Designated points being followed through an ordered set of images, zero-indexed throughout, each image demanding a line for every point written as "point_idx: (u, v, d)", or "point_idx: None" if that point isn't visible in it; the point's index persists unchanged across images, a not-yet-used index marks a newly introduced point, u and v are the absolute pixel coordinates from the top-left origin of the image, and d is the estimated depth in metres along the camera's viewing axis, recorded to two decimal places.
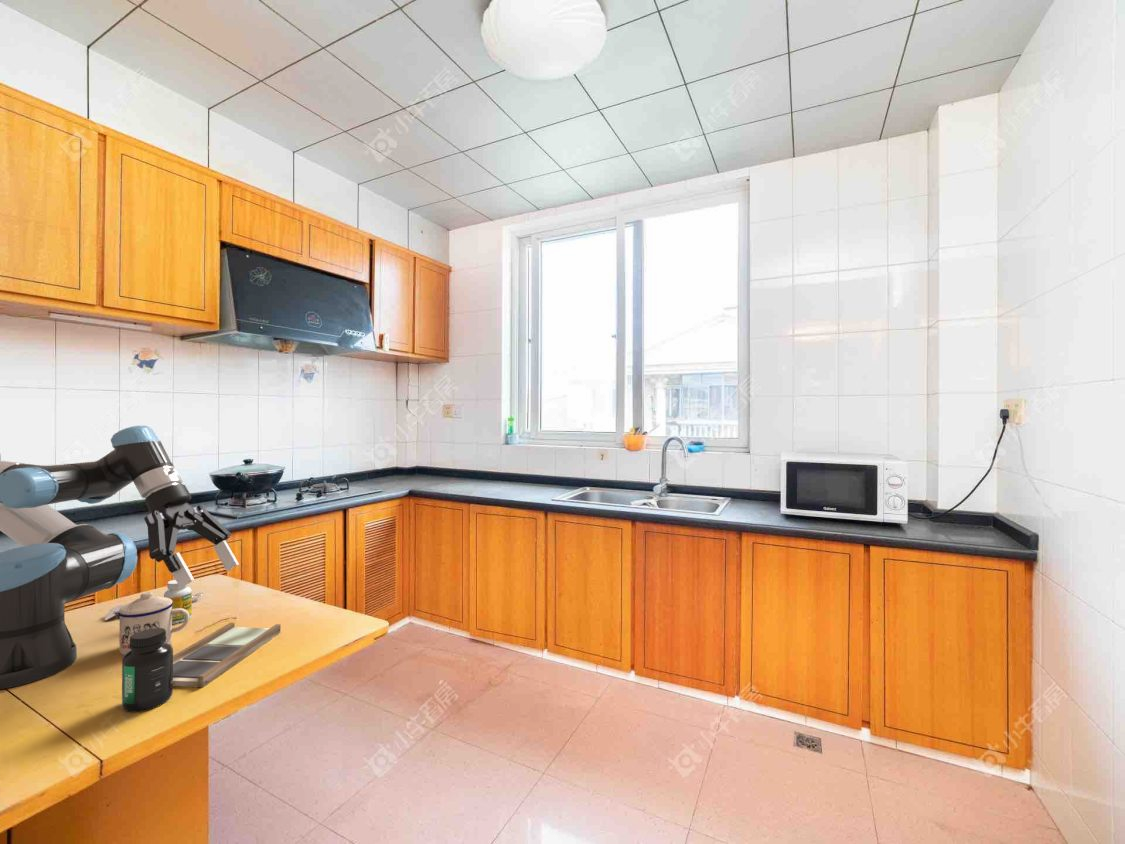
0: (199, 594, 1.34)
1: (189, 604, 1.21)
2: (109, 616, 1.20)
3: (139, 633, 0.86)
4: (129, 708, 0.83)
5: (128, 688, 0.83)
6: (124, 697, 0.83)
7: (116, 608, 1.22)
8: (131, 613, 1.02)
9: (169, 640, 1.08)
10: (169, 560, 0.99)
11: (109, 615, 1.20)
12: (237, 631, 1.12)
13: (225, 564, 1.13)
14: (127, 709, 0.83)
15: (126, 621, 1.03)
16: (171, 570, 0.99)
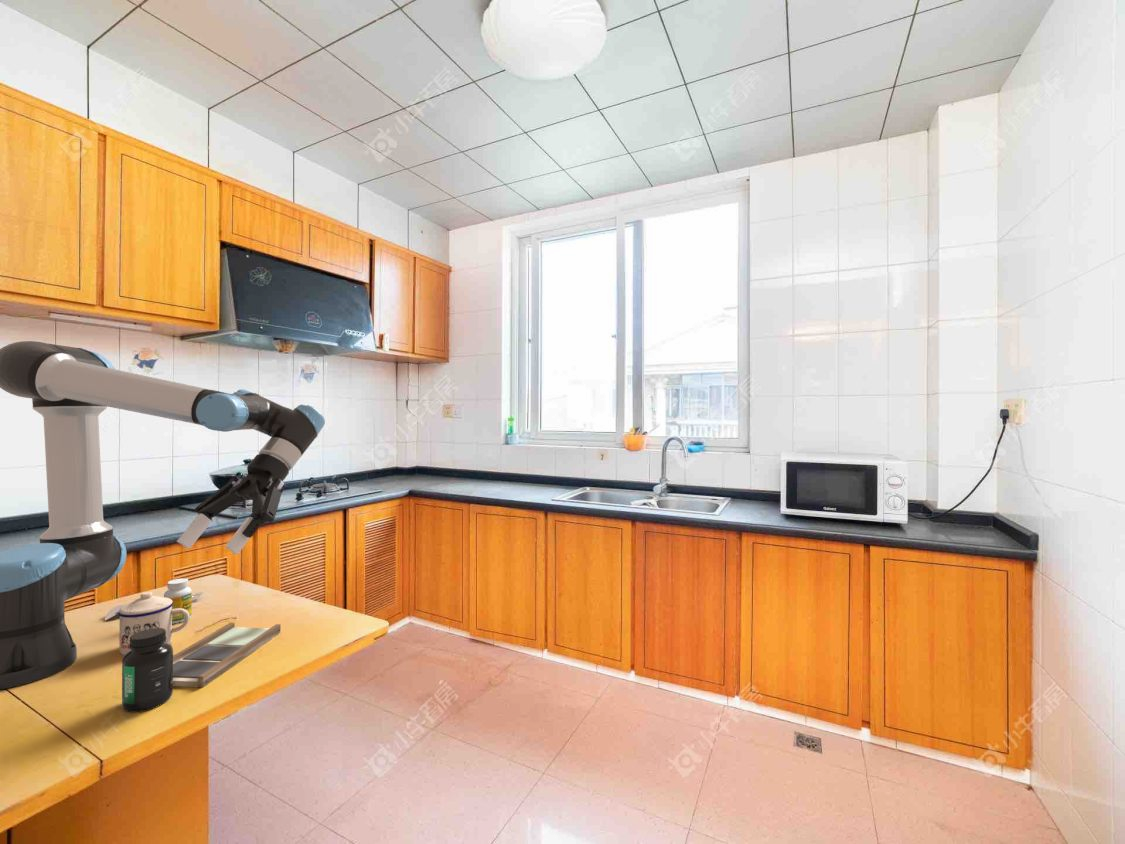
0: (199, 594, 1.34)
1: (189, 604, 1.21)
2: (109, 616, 1.20)
3: (139, 633, 0.86)
4: (129, 708, 0.83)
5: (128, 688, 0.83)
6: (124, 697, 0.83)
7: (116, 608, 1.22)
8: (131, 613, 1.02)
9: (169, 640, 1.08)
10: (257, 526, 0.97)
11: (109, 615, 1.20)
12: (237, 631, 1.12)
13: (186, 536, 0.99)
14: (127, 709, 0.83)
15: (126, 621, 1.03)
16: (248, 533, 0.95)
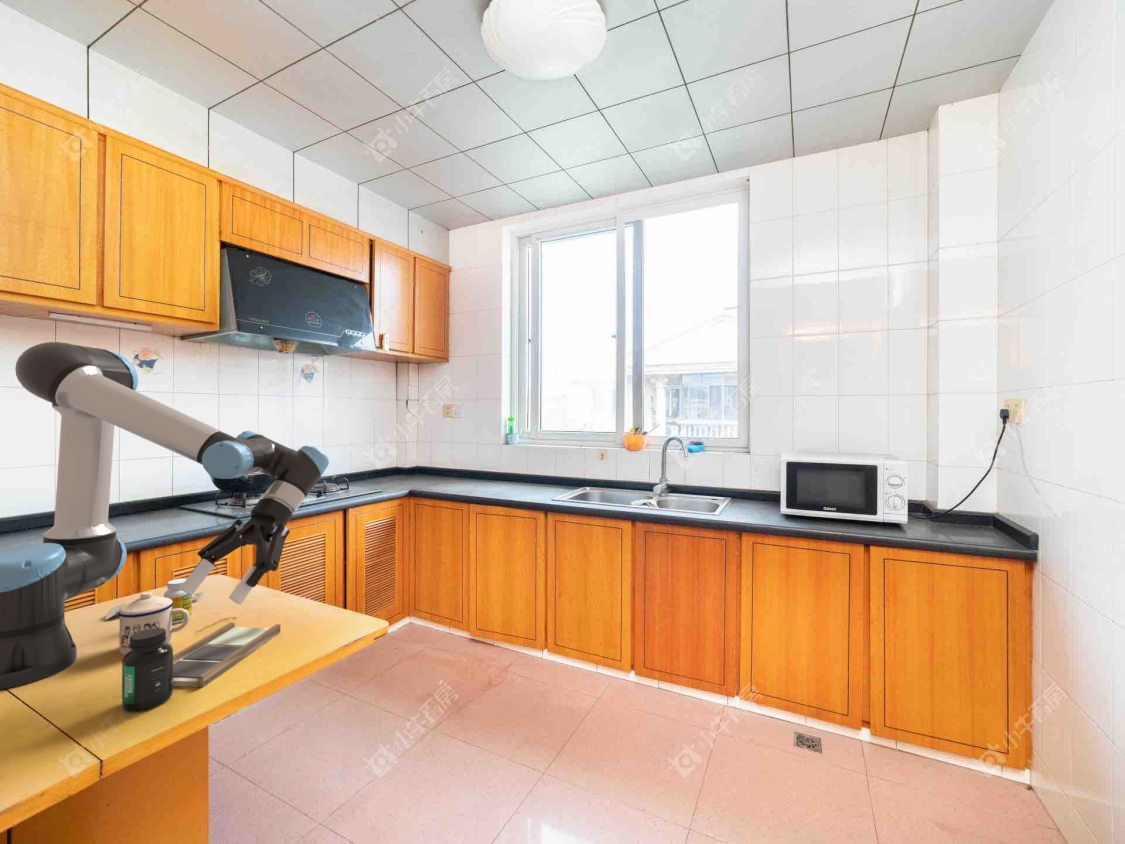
0: (199, 594, 1.34)
1: (189, 604, 1.21)
2: (109, 615, 1.20)
3: (139, 633, 0.86)
4: (129, 708, 0.83)
5: (128, 688, 0.83)
6: (124, 697, 0.83)
7: (116, 607, 1.22)
8: (131, 613, 1.02)
9: (169, 640, 1.08)
10: (261, 575, 0.97)
11: (109, 614, 1.21)
12: (237, 631, 1.12)
13: (189, 582, 0.99)
14: (127, 709, 0.83)
15: (126, 621, 1.03)
16: (252, 583, 0.96)
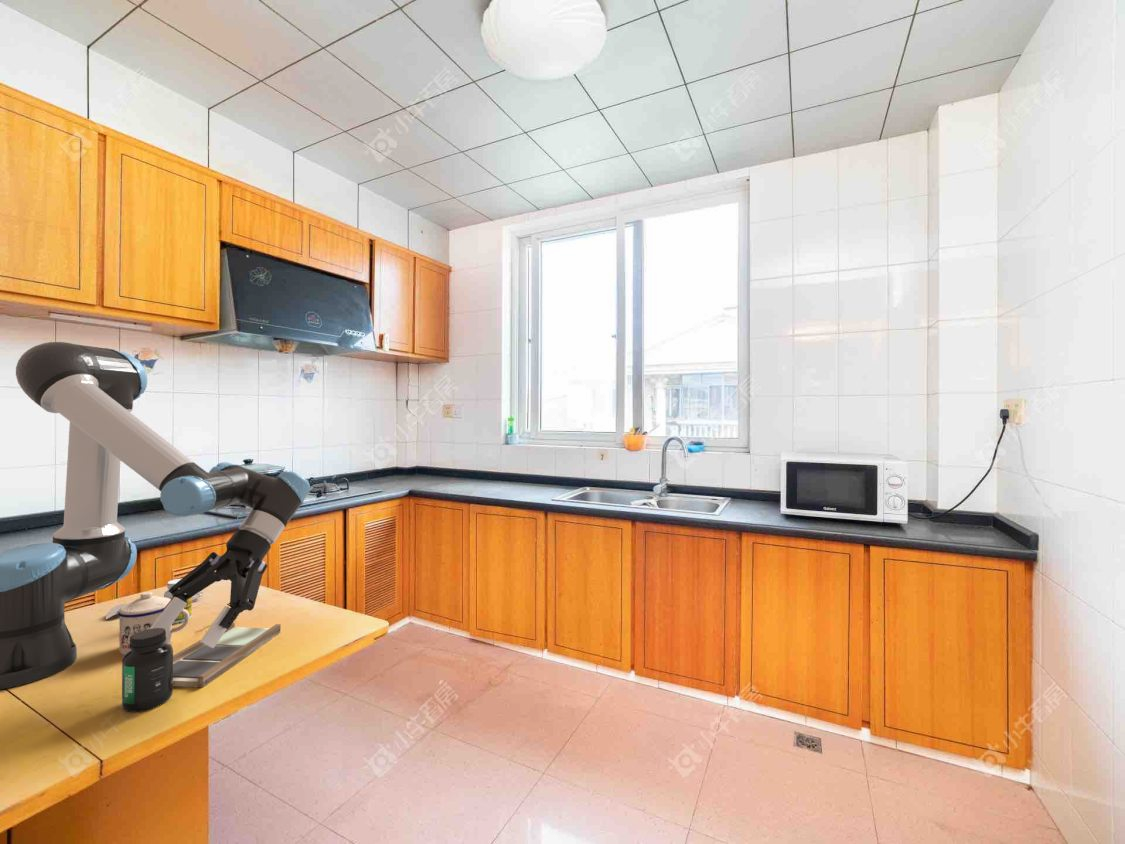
0: (199, 594, 1.34)
1: (189, 604, 1.21)
2: (109, 615, 1.21)
3: (139, 633, 0.86)
4: (129, 708, 0.83)
5: (128, 688, 0.83)
6: (124, 697, 0.83)
7: (116, 607, 1.22)
8: (131, 613, 1.02)
9: (169, 640, 1.08)
10: (235, 616, 0.91)
11: (109, 614, 1.21)
12: (237, 631, 1.12)
13: (159, 623, 0.93)
14: (127, 709, 0.83)
15: (126, 621, 1.03)
16: (225, 624, 0.90)
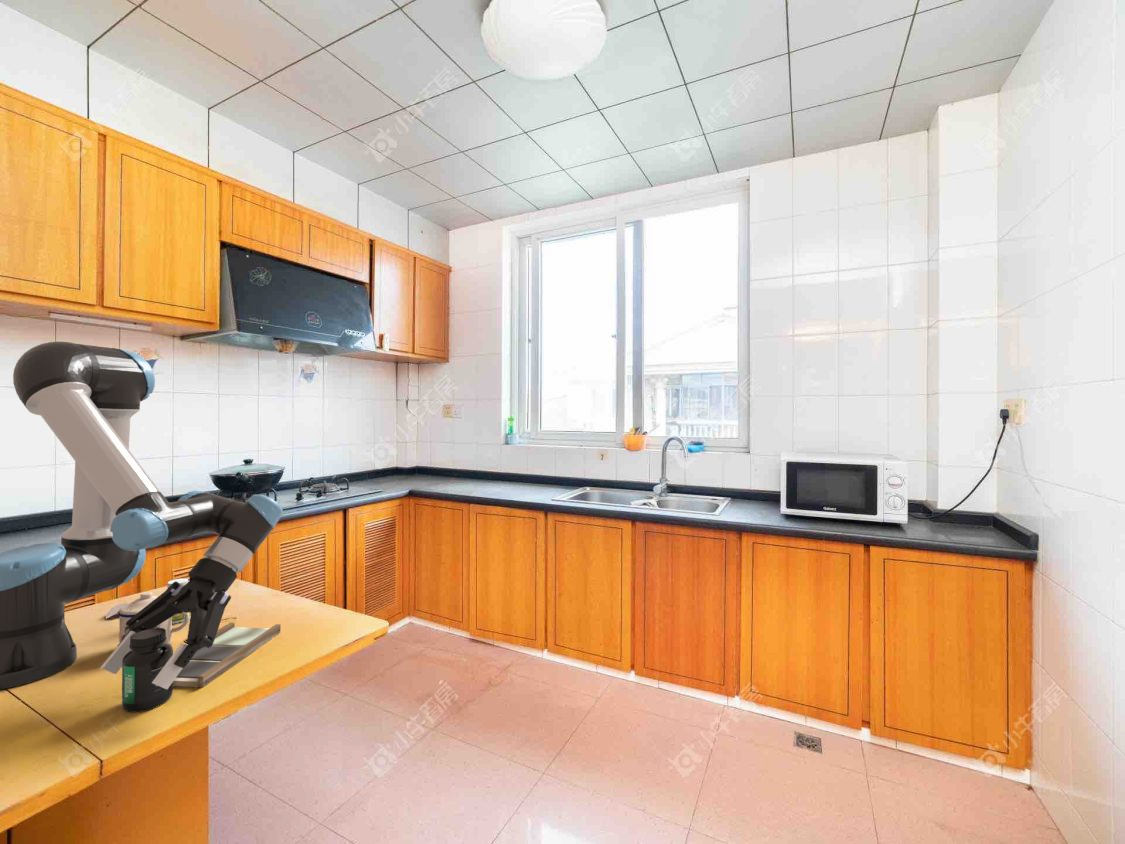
0: None
1: None
2: (109, 615, 1.21)
3: (139, 633, 0.86)
4: (129, 708, 0.83)
5: (128, 688, 0.83)
6: (124, 697, 0.83)
7: (117, 607, 1.22)
8: (131, 613, 1.02)
9: (169, 640, 1.08)
10: (192, 654, 0.86)
11: (109, 614, 1.21)
12: (237, 631, 1.12)
13: (112, 660, 0.87)
14: (127, 709, 0.83)
15: (126, 621, 1.03)
16: (181, 664, 0.84)
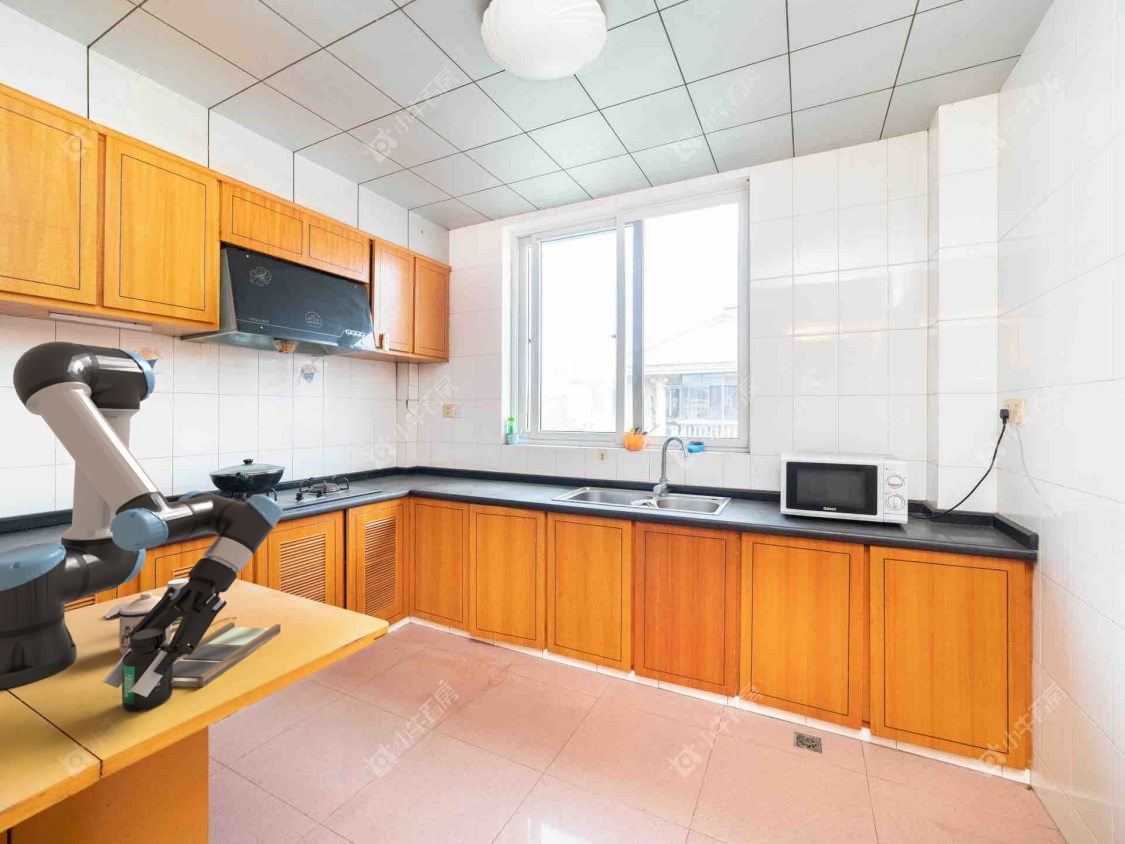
0: None
1: None
2: (110, 615, 1.21)
3: (139, 633, 0.86)
4: (129, 708, 0.83)
5: (128, 688, 0.83)
6: (124, 697, 0.83)
7: (117, 607, 1.22)
8: (131, 613, 1.02)
9: (169, 640, 1.08)
10: (172, 661, 0.85)
11: (110, 614, 1.21)
12: (237, 631, 1.12)
13: (114, 674, 0.85)
14: (127, 709, 0.83)
15: (126, 621, 1.03)
16: (160, 671, 0.84)
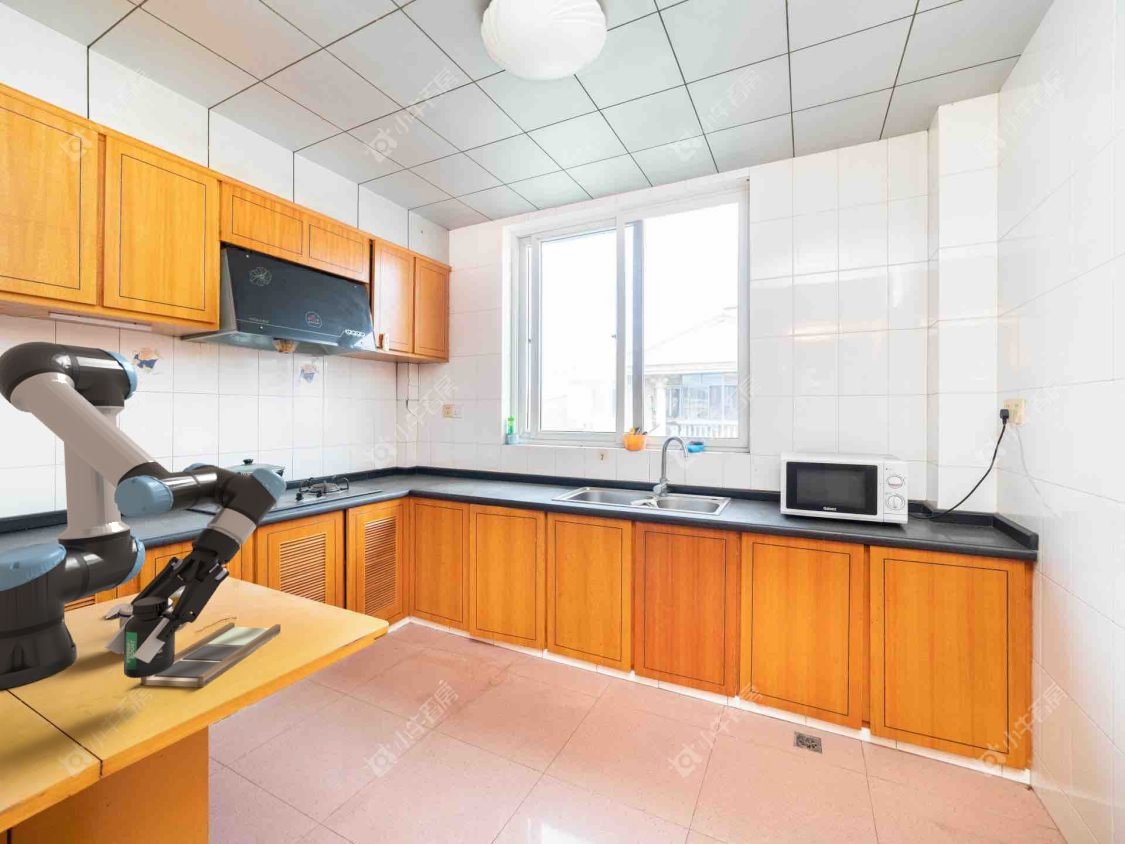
0: None
1: None
2: (110, 614, 1.21)
3: (142, 600, 0.86)
4: (131, 674, 0.83)
5: (130, 654, 0.83)
6: (126, 663, 0.83)
7: (117, 606, 1.23)
8: (131, 613, 1.02)
9: None
10: (175, 628, 0.85)
11: (110, 613, 1.21)
12: (237, 631, 1.12)
13: (117, 640, 0.85)
14: (129, 675, 0.83)
15: None
16: (163, 638, 0.84)
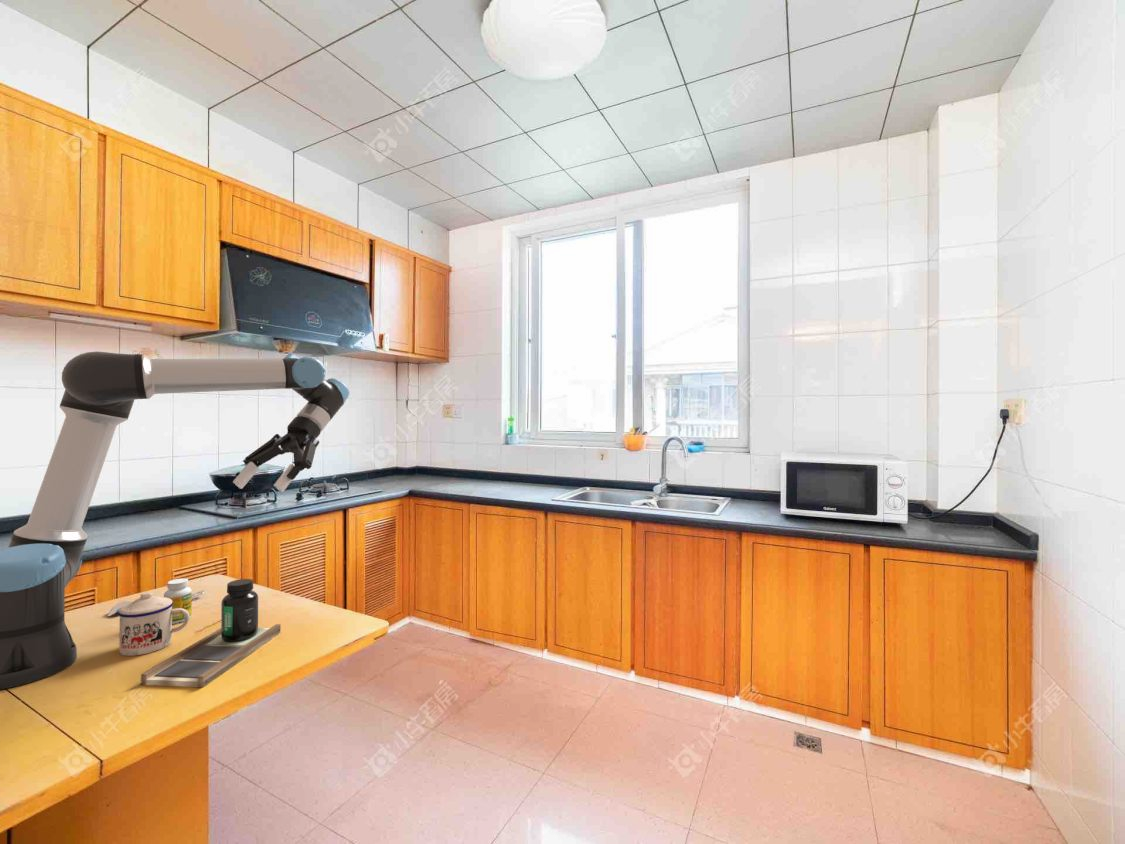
0: (201, 592, 1.36)
1: (189, 604, 1.21)
2: (112, 612, 1.22)
3: (233, 582, 1.09)
4: (228, 639, 1.06)
5: (227, 623, 1.06)
6: (224, 631, 1.07)
7: (119, 605, 1.24)
8: (131, 613, 1.02)
9: (169, 640, 1.08)
10: (298, 471, 1.21)
11: (112, 611, 1.22)
12: None
13: (240, 478, 1.23)
14: (226, 640, 1.06)
15: (126, 621, 1.03)
16: (291, 476, 1.20)
